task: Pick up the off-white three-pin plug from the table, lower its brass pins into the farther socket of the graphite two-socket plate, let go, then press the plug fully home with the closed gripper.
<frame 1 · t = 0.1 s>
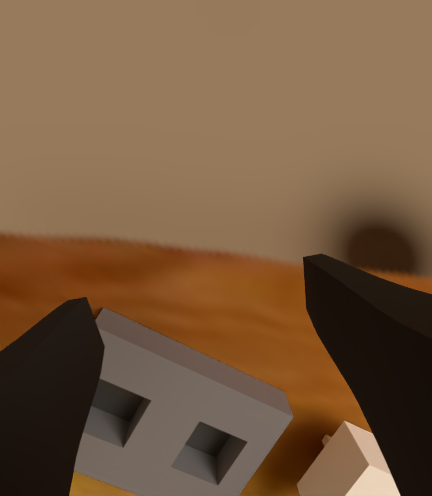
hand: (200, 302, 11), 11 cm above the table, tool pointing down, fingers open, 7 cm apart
plug: (336, 443, 26), on the table
socket plate: (164, 407, 25), on the table
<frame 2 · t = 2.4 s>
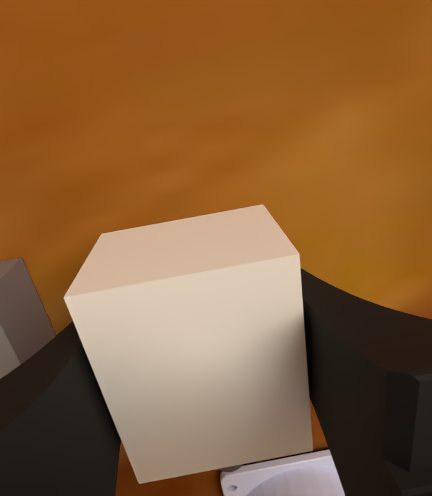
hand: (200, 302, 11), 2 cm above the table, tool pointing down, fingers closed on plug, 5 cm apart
plug: (198, 275, 13), on the table, touching gripper
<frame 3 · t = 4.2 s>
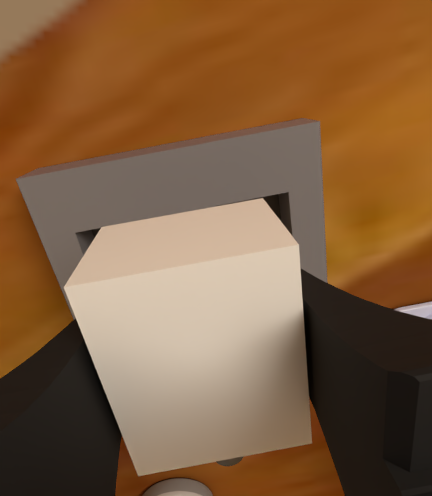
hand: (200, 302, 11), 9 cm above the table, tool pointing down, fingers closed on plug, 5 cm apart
plug: (198, 270, 13), point 7 cm above the table, touching gripper
socket plate: (189, 231, 20), on the table
when the fingers open (4 cm above the table, at t = 6.0 s): plug drops 1 cm, resting on socket plate.
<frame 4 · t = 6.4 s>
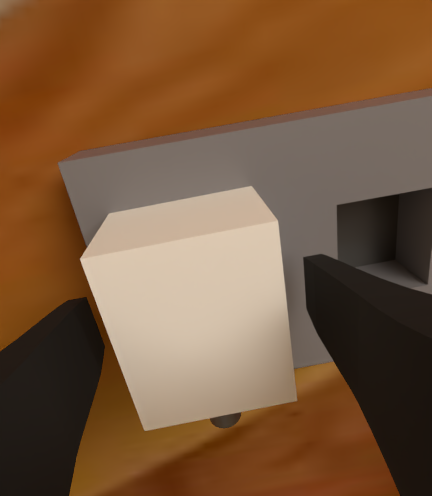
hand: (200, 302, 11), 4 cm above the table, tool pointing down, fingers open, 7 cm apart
plug: (196, 255, 14), resting on socket plate
socket plate: (275, 239, 15), on the table
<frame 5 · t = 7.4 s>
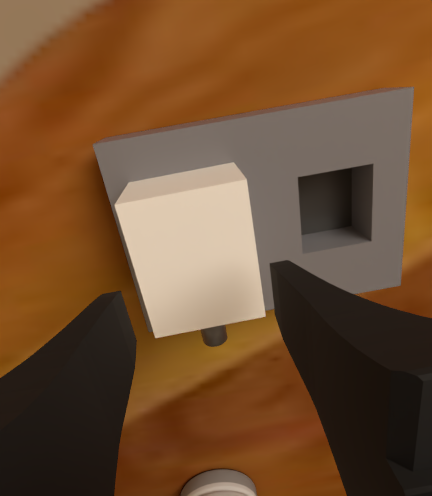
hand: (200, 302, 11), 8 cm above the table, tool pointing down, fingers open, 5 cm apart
plug: (193, 220, 19), resting on socket plate
travel mug: (217, 490, 29), on the table
socket plate: (256, 208, 19), on the table
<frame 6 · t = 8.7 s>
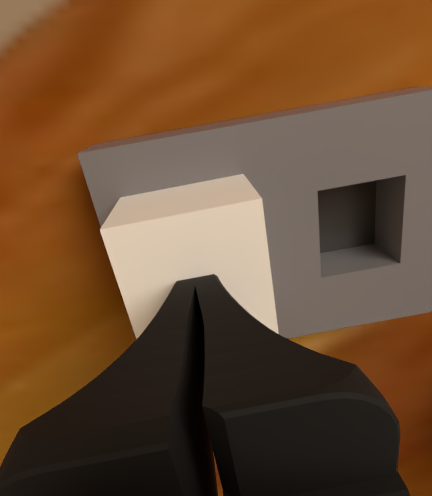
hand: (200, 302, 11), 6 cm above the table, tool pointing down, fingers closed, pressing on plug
plug: (195, 237, 16), resting on socket plate, touching gripper
socket plate: (266, 224, 17), on the table
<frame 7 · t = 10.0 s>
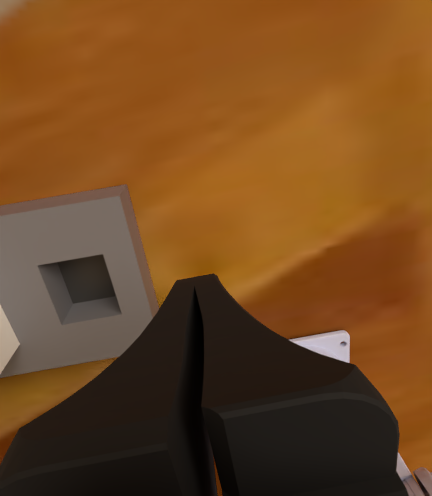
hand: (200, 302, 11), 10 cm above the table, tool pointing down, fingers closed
socket plate: (37, 280, 22), on the table
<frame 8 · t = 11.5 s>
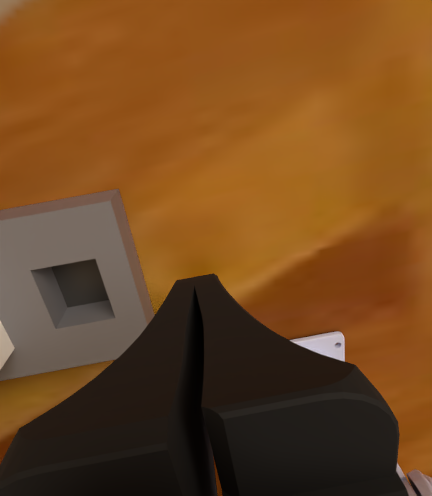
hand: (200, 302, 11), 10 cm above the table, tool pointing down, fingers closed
socket plate: (31, 284, 22), on the table
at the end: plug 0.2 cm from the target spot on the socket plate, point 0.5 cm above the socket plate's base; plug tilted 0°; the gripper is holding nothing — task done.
